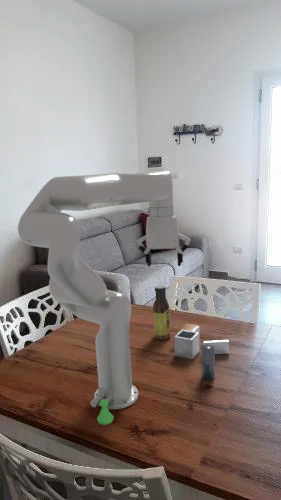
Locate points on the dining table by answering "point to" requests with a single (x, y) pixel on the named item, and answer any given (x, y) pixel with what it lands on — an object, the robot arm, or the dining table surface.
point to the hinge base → (187, 341)
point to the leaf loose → (219, 346)
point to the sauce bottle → (161, 314)
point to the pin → (208, 362)
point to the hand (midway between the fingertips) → (164, 265)
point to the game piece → (104, 413)
